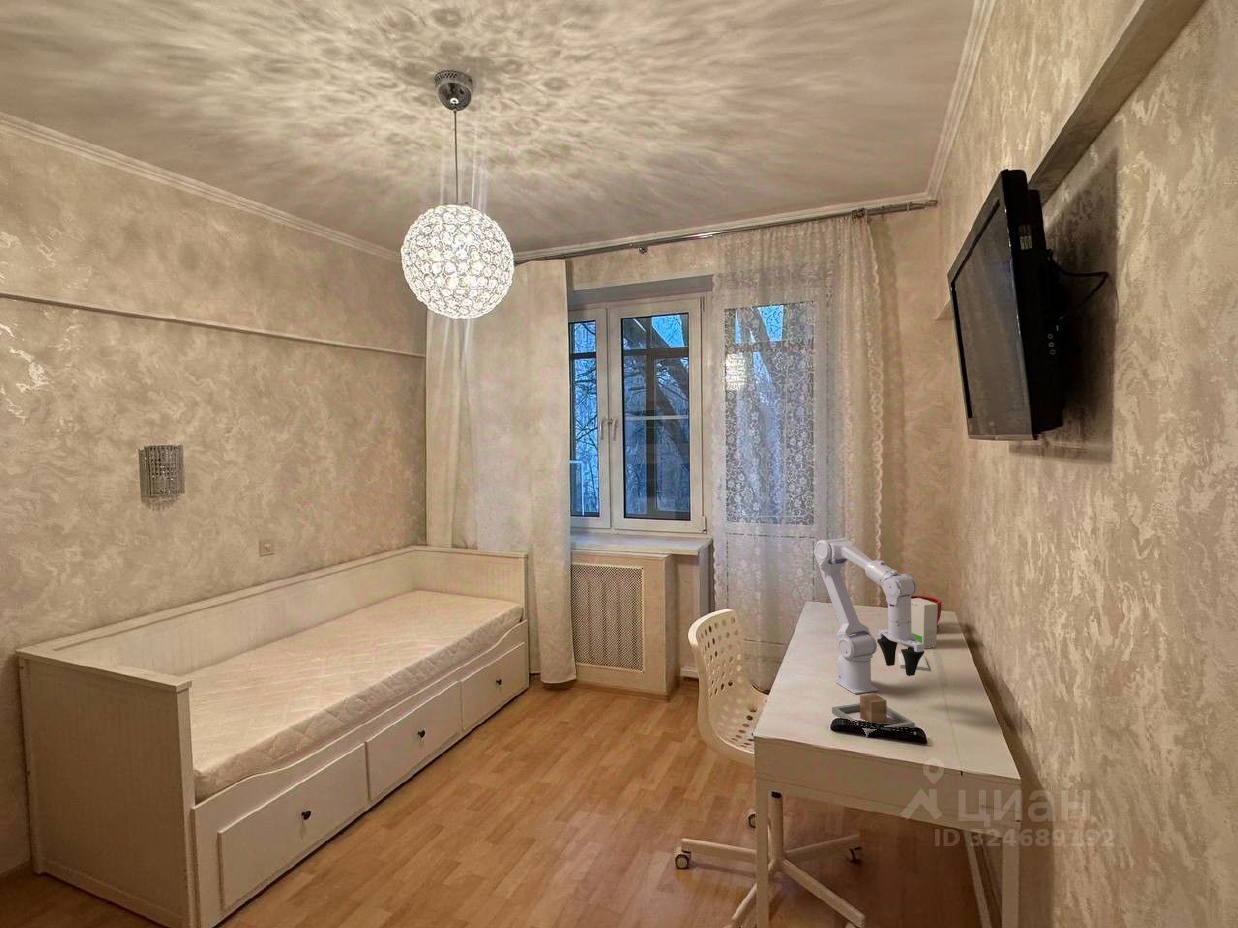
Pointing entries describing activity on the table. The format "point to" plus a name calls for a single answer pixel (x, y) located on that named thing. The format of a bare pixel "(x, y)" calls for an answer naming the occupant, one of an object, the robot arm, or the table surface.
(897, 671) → the table surface
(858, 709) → the tray frame
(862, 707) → the walnut block
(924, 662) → the hard drive
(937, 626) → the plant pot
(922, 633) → the skincare box
